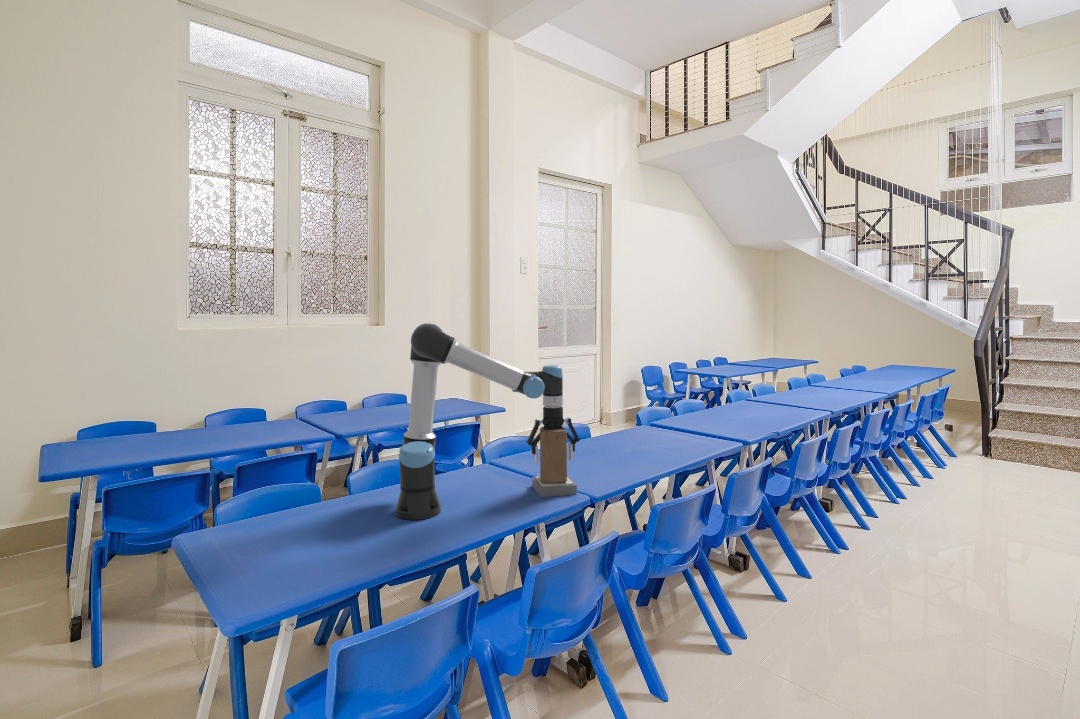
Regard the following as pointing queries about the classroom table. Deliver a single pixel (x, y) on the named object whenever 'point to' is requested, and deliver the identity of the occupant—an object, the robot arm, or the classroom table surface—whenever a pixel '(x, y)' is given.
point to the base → (554, 488)
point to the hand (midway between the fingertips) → (553, 461)
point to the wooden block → (553, 455)
